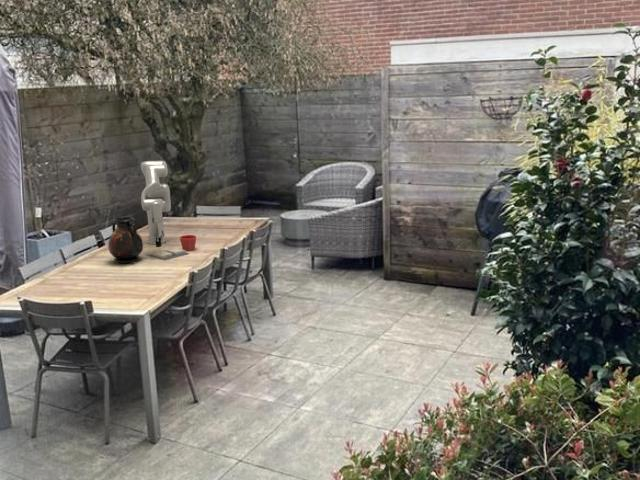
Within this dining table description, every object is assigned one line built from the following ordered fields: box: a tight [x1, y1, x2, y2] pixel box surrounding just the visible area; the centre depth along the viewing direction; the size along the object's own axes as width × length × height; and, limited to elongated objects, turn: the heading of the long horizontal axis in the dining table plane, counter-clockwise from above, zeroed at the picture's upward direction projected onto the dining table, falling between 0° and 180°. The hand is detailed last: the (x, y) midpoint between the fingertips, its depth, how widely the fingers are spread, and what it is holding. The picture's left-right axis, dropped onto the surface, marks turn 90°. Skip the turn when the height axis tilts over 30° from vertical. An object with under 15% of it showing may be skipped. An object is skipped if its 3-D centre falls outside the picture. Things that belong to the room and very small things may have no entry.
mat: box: [146, 250, 190, 261], centre depth 400 cm, size 20×21×1 cm
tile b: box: [152, 250, 172, 260], centre depth 396 cm, size 2×8×10 cm
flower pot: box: [179, 234, 197, 252], centre depth 412 cm, size 11×11×10 cm
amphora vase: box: [107, 216, 144, 265], centre depth 384 cm, size 22×22×28 cm
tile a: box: [166, 247, 186, 256], centre depth 403 cm, size 2×8×10 cm
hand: (158, 246), depth 397 cm, fingers closed
